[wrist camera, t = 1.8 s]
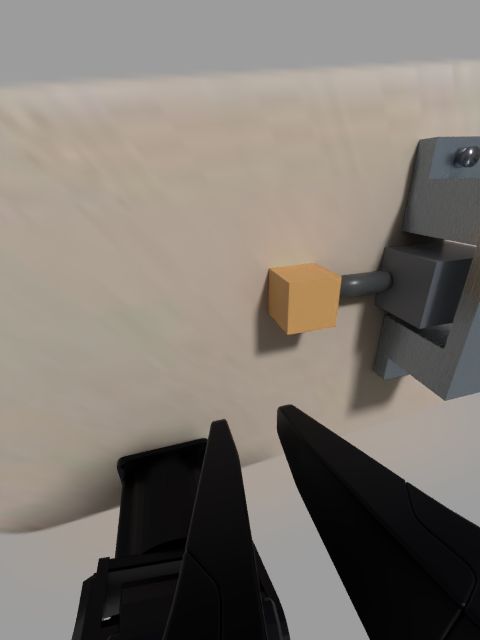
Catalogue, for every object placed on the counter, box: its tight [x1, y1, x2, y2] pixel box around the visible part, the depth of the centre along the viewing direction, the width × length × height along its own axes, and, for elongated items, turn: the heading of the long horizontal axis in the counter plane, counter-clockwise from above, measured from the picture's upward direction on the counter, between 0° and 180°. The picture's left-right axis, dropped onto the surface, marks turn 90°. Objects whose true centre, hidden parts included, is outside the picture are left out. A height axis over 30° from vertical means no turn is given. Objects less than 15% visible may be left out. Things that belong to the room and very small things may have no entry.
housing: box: [374, 137, 480, 401], centre depth 18 cm, size 4×16×6 cm, turn 2°
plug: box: [269, 241, 476, 335], centre depth 18 cm, size 13×4×4 cm, turn 92°
